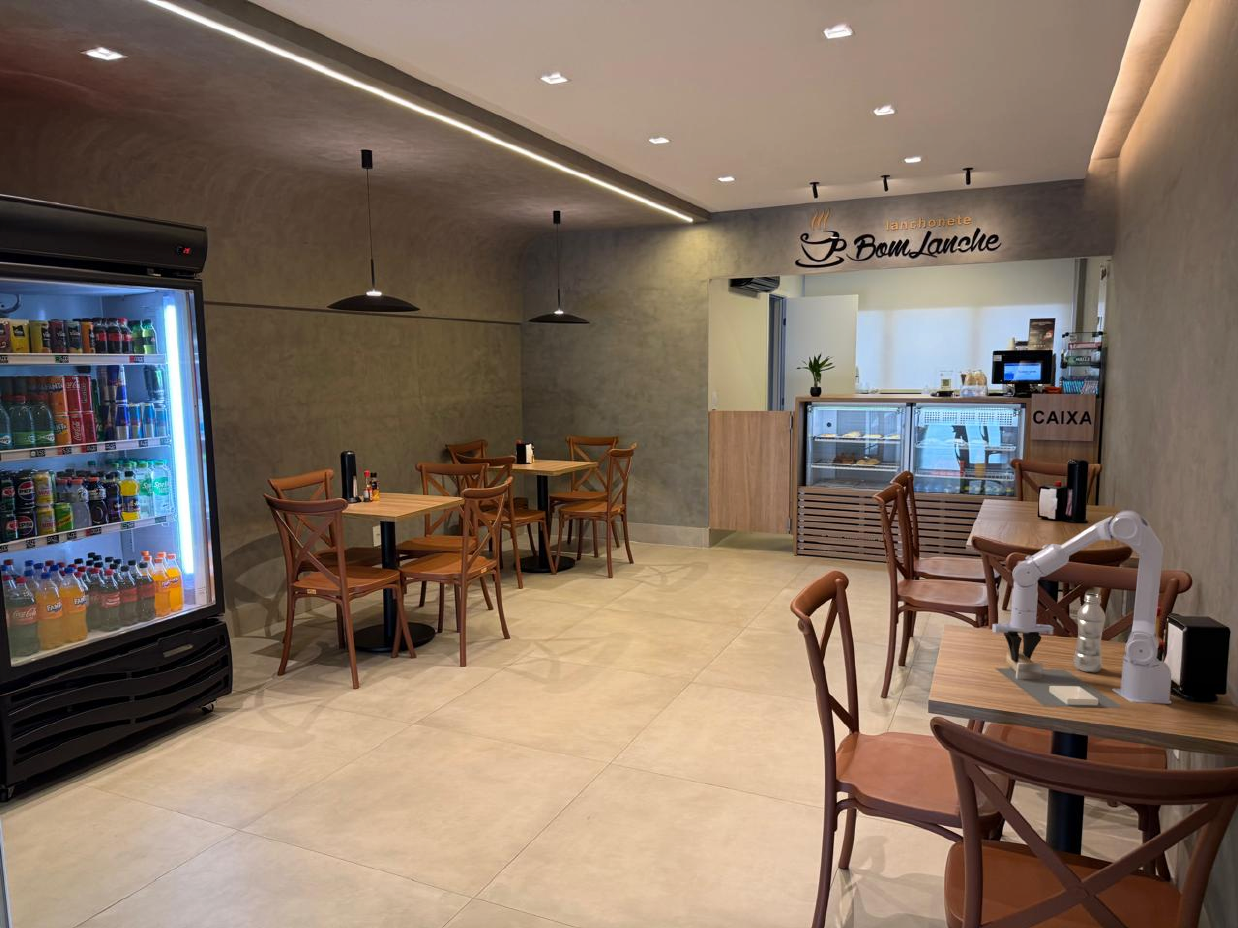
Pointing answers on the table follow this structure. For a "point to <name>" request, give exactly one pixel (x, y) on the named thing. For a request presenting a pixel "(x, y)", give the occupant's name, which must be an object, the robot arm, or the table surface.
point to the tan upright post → (1025, 667)
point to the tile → (1073, 695)
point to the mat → (1055, 678)
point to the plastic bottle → (1089, 634)
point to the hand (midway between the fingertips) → (1020, 660)
